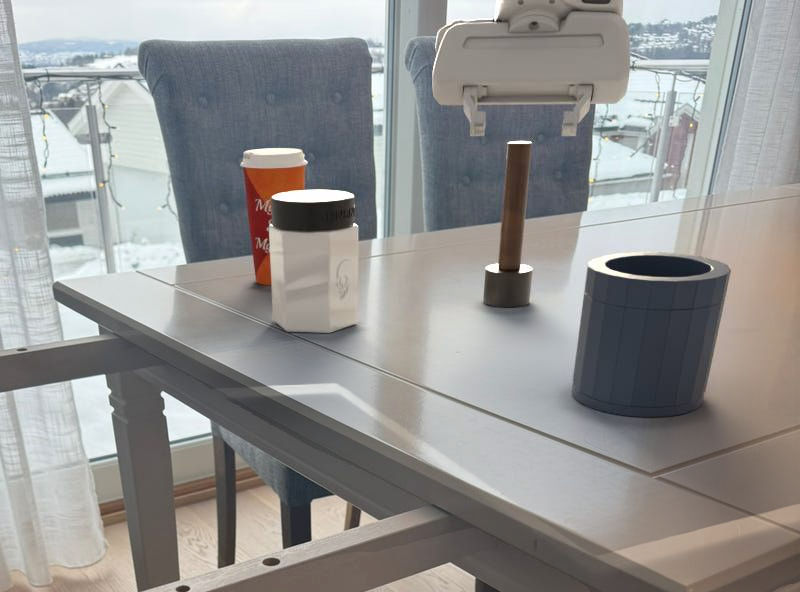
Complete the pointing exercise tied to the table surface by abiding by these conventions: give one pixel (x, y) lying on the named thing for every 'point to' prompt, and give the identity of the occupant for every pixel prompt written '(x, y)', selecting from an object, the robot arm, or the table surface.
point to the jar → (314, 260)
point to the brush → (511, 235)
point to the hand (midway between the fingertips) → (522, 132)
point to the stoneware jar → (648, 332)
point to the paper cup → (268, 196)
